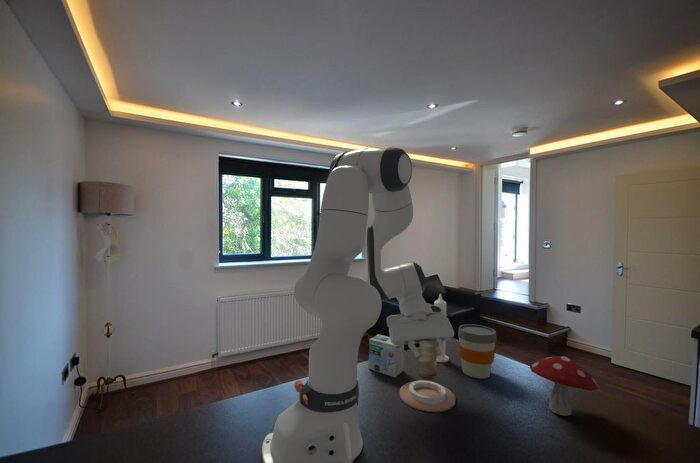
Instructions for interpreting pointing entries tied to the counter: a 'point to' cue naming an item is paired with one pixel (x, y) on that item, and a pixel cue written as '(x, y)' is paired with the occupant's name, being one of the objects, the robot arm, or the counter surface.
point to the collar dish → (427, 396)
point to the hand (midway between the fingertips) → (429, 355)
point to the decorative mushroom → (563, 380)
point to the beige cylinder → (428, 359)
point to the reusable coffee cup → (476, 349)
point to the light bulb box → (385, 356)
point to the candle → (443, 357)
